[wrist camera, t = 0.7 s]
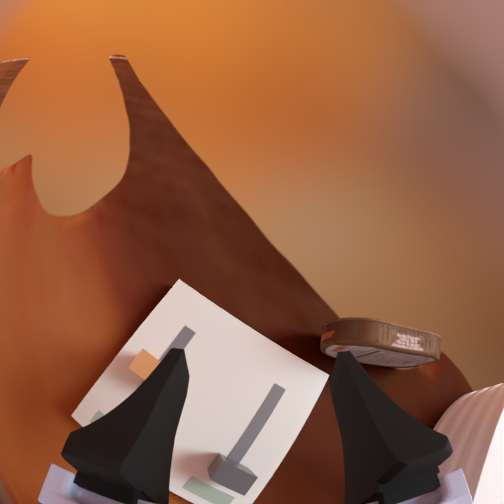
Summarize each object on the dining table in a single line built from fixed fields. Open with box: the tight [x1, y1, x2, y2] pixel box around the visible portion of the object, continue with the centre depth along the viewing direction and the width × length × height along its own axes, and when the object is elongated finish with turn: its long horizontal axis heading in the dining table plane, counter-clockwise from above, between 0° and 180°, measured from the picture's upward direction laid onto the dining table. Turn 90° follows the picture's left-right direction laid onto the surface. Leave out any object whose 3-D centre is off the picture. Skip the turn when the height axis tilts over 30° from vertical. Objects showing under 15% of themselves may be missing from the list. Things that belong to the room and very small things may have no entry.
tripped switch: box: [129, 349, 160, 380], centre depth 20 cm, size 2×3×4 cm, turn 58°
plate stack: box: [433, 383, 504, 504], centre depth 17 cm, size 28×28×12 cm
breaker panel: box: [71, 279, 329, 504], centre depth 22 cm, size 18×18×2 cm
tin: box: [320, 318, 441, 368], centre depth 26 cm, size 15×3×8 cm, turn 77°
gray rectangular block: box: [207, 453, 258, 496], centre depth 17 cm, size 2×3×4 cm, turn 58°
